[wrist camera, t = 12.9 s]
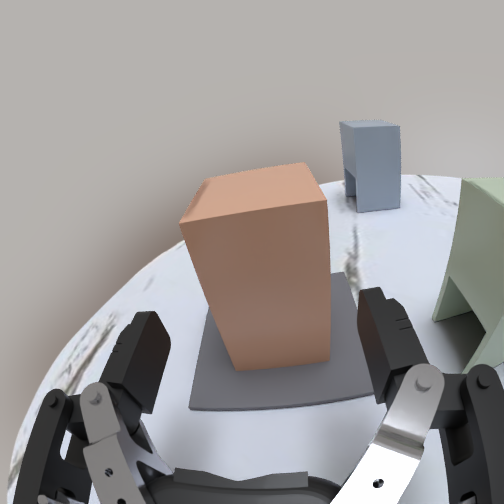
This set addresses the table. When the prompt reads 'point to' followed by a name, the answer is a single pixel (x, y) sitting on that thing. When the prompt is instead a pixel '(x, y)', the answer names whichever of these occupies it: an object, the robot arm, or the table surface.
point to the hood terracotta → (264, 264)
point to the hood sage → (478, 266)
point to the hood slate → (372, 163)
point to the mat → (285, 368)
